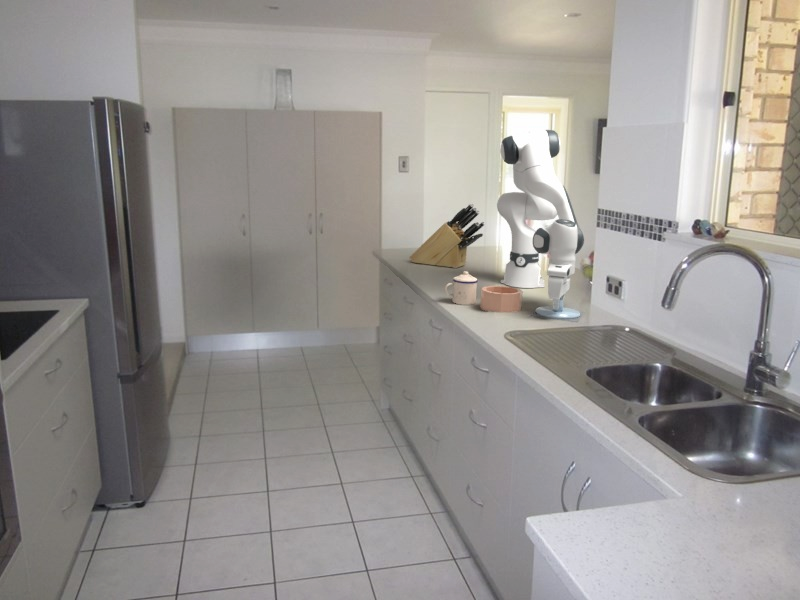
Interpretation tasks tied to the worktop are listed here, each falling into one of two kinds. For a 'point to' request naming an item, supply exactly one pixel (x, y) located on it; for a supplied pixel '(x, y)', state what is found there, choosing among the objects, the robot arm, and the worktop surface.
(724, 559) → the worktop surface
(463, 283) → the teacup with lid
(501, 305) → the bowl
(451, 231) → the knife block
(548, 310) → the lid
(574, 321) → the mat
